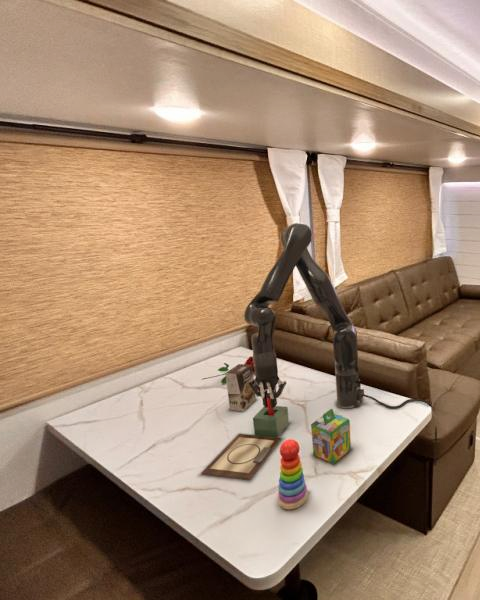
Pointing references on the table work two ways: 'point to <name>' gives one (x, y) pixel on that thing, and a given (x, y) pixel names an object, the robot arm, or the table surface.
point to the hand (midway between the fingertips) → (270, 406)
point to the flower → (248, 362)
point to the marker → (269, 405)
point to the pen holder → (271, 422)
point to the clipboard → (242, 457)
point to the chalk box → (331, 437)
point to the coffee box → (240, 387)
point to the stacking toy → (291, 477)
